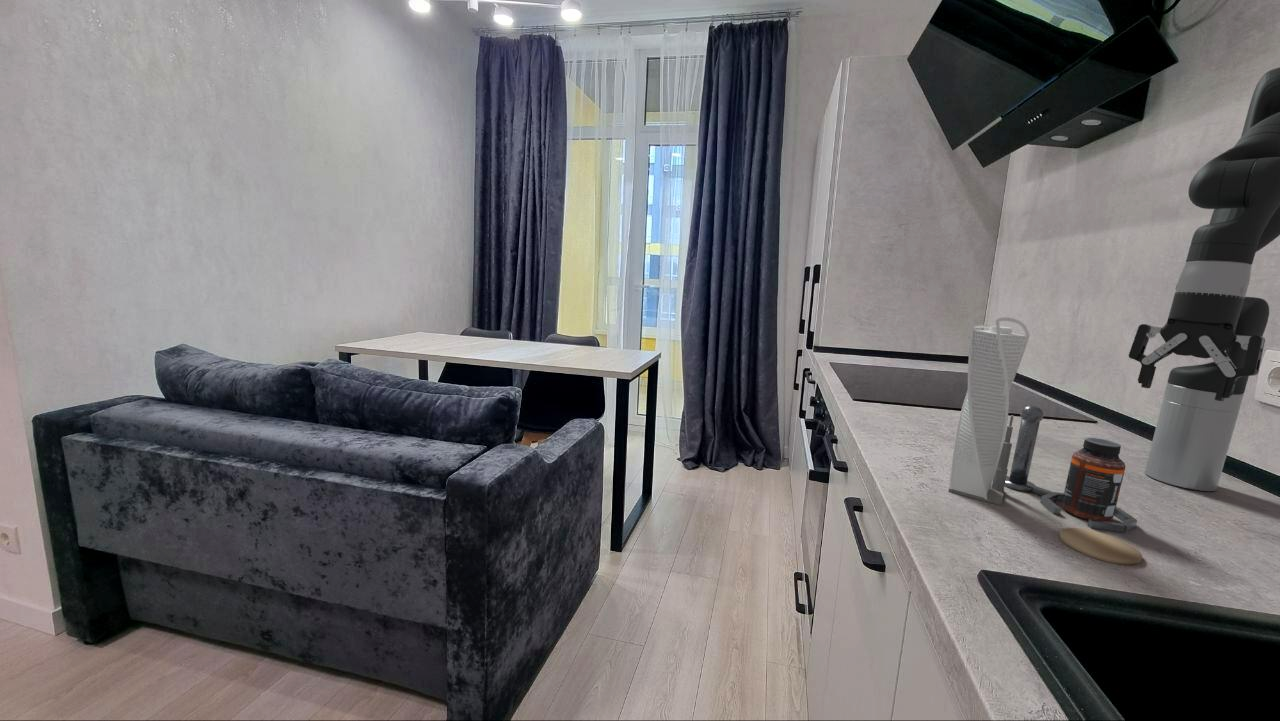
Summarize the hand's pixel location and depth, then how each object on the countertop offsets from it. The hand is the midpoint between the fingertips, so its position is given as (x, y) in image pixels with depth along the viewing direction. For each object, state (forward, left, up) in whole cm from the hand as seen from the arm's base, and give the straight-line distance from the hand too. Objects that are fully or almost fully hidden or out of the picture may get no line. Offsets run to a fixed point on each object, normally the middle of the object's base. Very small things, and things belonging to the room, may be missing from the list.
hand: (1180, 393), depth 84 cm
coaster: (+33, +3, -17) cm, 37 cm away
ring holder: (+22, -6, -17) cm, 28 cm away
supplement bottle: (+22, -2, -18) cm, 28 cm away
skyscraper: (+30, -14, -18) cm, 37 cm away
